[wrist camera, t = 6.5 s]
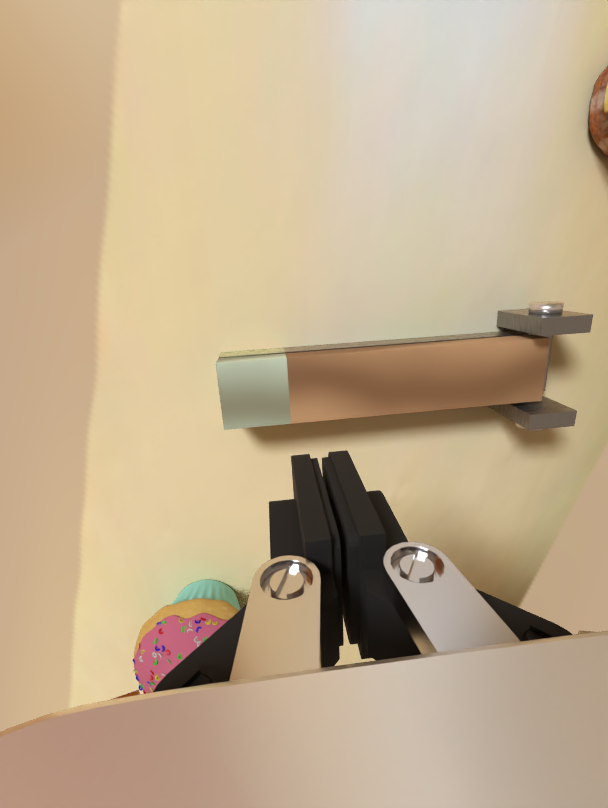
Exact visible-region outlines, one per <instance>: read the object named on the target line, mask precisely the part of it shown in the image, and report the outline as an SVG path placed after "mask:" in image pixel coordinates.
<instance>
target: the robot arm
mask: <svg viewBox="0 0 608 808" xmlns="http://www.w3.org/2000/svg"><path fill="white" fill-rule="evenodd" d="M291 462H292V476H293V490H294V499H291V500H281V501H271V502H269V519H270V552H271V560H269V561H267V562H266V563H264V564H263V565H262V566H261V567H260V568H259V569H258V570H257V571H256V573H255V575H254V577H253V581H252V585H251V589H250V594H249V598H248V602H247V604H246V605H245V606H244V607H243V608H242V609H241V610H239V611H238V612H237V613H236V614H235V615H234V616H233V617H232V618H230V619H229V620H228V621H227V622H226V623H225V624H224V625H222V626H221V627H220V628H219V629H218V630H217V631H216V632H214V633H213V634H212V635H211V636H210V637H209V638H208V639H206V640H205V641H204V642H203V643H202V644H201V645H200V646H199V647H197V648H196V649H195V650H194V651H193V652H192V653H191V654H189V655H188V656H187V657H186V658H185V659H184V660H183V661H181V662H180V663H179V664H178V665H177V666H176V667H175V668H173V669H172V670H171V671H170V672H169V673H168V674H167V675H166V676H165V677H164V678H163V679H162V680H161V681H160V682H159V683H158V685H157V686H156V688H155V689H154V691H153V692H151V693H146V694H141V695H140V693H139V690H137V691H134V692H131V693H128V694H125V695H122V696H119V697H117V698H114V699H111V700H107V701H102V702H97V703H91V704H86V705H81V706H77V707H73V708H70V709H66V710H62V711H59V712H55V713H51V714H48V715H44V716H41V717H39V718H36V719H33V720H30V721H28V722H25V723H22V724H19V725H16V726H14V727H11V728H8V729H6V730H4V731H1V732H0V808H608V631H603V632H590V631H579V632H578V634H576V635H572V634H571V633H570V632H569V631H567V630H565V629H564V628H562V627H560V626H558V625H557V624H555V623H552V622H550V621H548V620H546V619H543V618H541V617H539V616H536V615H534V614H532V613H530V612H527V611H525V610H523V609H520V608H518V607H516V606H514V605H511V604H509V603H507V602H504V601H502V600H500V599H498V598H495V597H493V596H491V595H488V594H486V593H484V592H481V591H479V590H477V589H475V588H474V587H473V586H472V585H471V584H470V583H469V581H468V580H467V579H466V578H465V577H464V576H463V575H462V573H461V572H460V571H459V570H458V569H457V568H456V567H455V565H454V564H453V563H452V562H451V561H450V560H449V558H448V557H447V556H446V555H445V554H443V553H442V552H441V551H440V550H438V549H436V548H434V547H433V546H431V545H427V544H424V543H419V542H408V540H407V538H406V537H405V535H404V533H403V531H402V529H401V527H400V525H399V523H398V521H397V520H396V518H395V516H394V514H393V512H392V510H391V508H390V506H389V505H388V503H387V501H386V499H385V497H384V495H383V493H382V492H381V491H369V492H366V490H365V487H364V485H363V483H362V481H361V479H360V477H359V474H358V472H357V470H356V468H355V466H354V464H353V461H352V459H351V457H350V455H349V453H348V451H337V452H329V454H328V457H324V458H322V471H323V477H322V474H321V470H320V467H319V463H318V460H317V458H314V459H311V458H310V455H309V454H305V455H294V456H291ZM343 618H344V622H345V626H346V631H347V635H348V639H349V643H350V644H357V643H358V647H359V651H360V655H361V659H367V658H373V659H375V660H376V661H370V662H362V663H355V664H348V665H340V666H334V665H335V664H336V663H337V662H338V660H339V659H340V657H339V646H342V645H343Z"/></svg>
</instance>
